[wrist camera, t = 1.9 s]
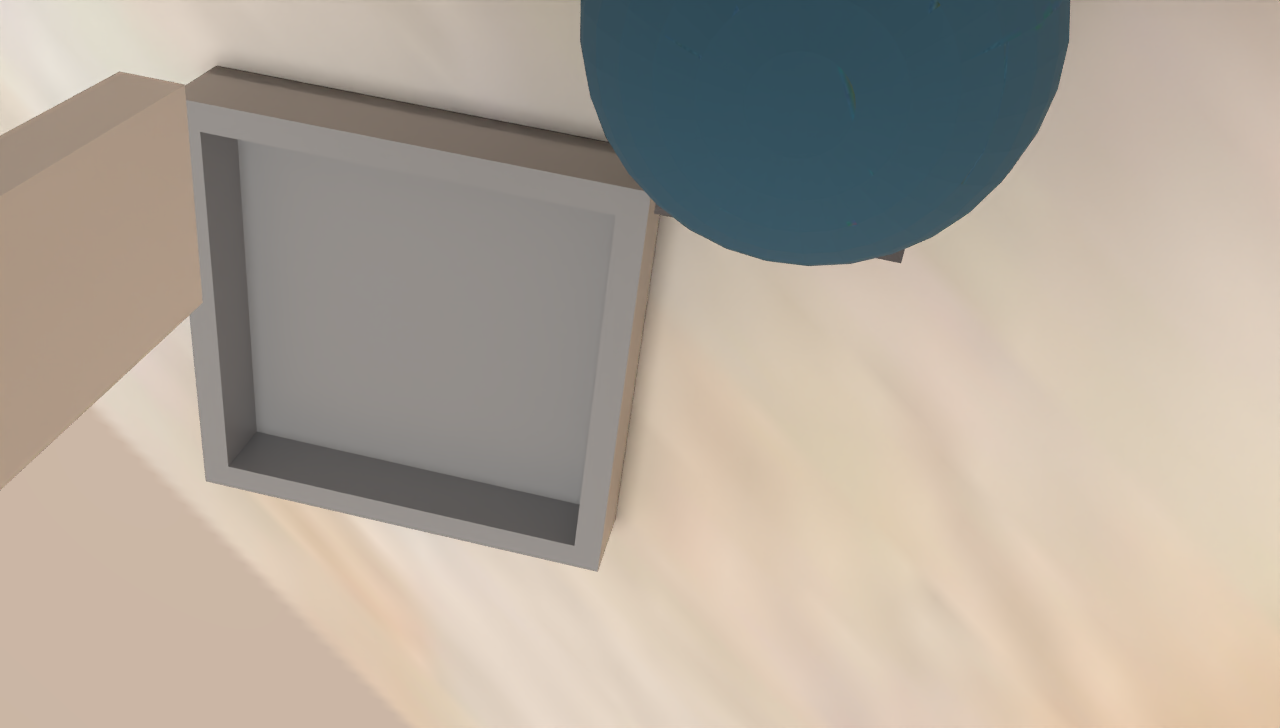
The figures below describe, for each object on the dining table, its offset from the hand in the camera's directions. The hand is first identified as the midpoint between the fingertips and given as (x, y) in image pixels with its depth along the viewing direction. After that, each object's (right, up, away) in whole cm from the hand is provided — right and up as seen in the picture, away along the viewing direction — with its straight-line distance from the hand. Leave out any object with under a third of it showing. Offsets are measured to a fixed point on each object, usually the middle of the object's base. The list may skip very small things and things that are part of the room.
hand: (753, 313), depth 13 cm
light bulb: (+3, +10, +15) cm, 18 cm away
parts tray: (-7, +1, +22) cm, 23 cm away
